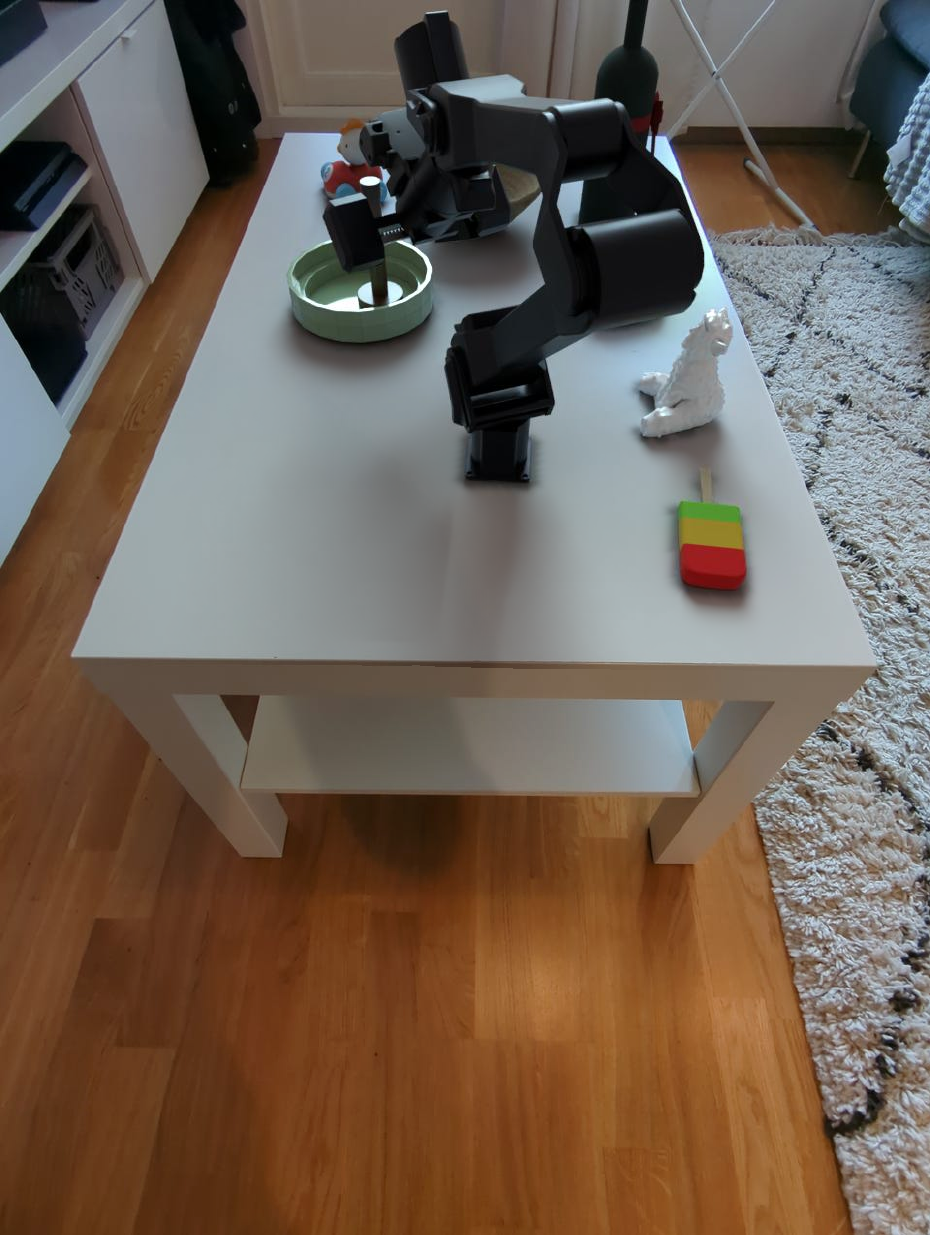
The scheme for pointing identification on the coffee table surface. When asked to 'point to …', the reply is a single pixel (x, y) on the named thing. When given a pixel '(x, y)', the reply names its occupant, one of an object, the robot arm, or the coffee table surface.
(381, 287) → the paper towel holder
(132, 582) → the coffee table surface
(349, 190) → the toy car
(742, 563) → the popsicle
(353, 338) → the green round dish
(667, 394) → the sitting furry creature
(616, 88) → the wine bottle
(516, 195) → the bowl
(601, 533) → the coffee table surface
